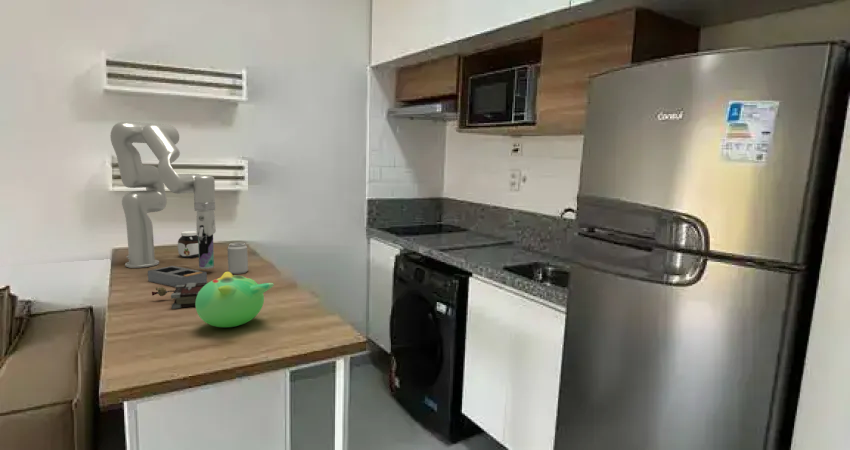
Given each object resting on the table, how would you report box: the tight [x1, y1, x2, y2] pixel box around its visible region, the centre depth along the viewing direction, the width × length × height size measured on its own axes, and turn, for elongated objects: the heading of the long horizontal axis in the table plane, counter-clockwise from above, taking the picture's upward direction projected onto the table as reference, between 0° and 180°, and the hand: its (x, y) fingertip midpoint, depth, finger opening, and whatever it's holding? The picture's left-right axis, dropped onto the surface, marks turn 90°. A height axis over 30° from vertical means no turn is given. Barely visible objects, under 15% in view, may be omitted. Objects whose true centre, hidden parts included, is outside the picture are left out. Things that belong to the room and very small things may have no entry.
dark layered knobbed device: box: [151, 282, 208, 310], centre depth 160 cm, size 15×25×5 cm, turn 109°
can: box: [226, 242, 249, 275], centre depth 199 cm, size 8×8×12 cm
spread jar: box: [177, 230, 199, 259], centre depth 230 cm, size 12×11×12 cm
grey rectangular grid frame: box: [147, 265, 208, 288], centre depth 183 cm, size 20×10×4 cm, turn 61°
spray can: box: [198, 234, 215, 270], centre depth 196 cm, size 6×6×20 cm
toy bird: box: [194, 271, 275, 328], centre depth 137 cm, size 18×17×15 cm
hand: (206, 251), depth 197 cm, fingers closed on spray can, 5 cm apart
